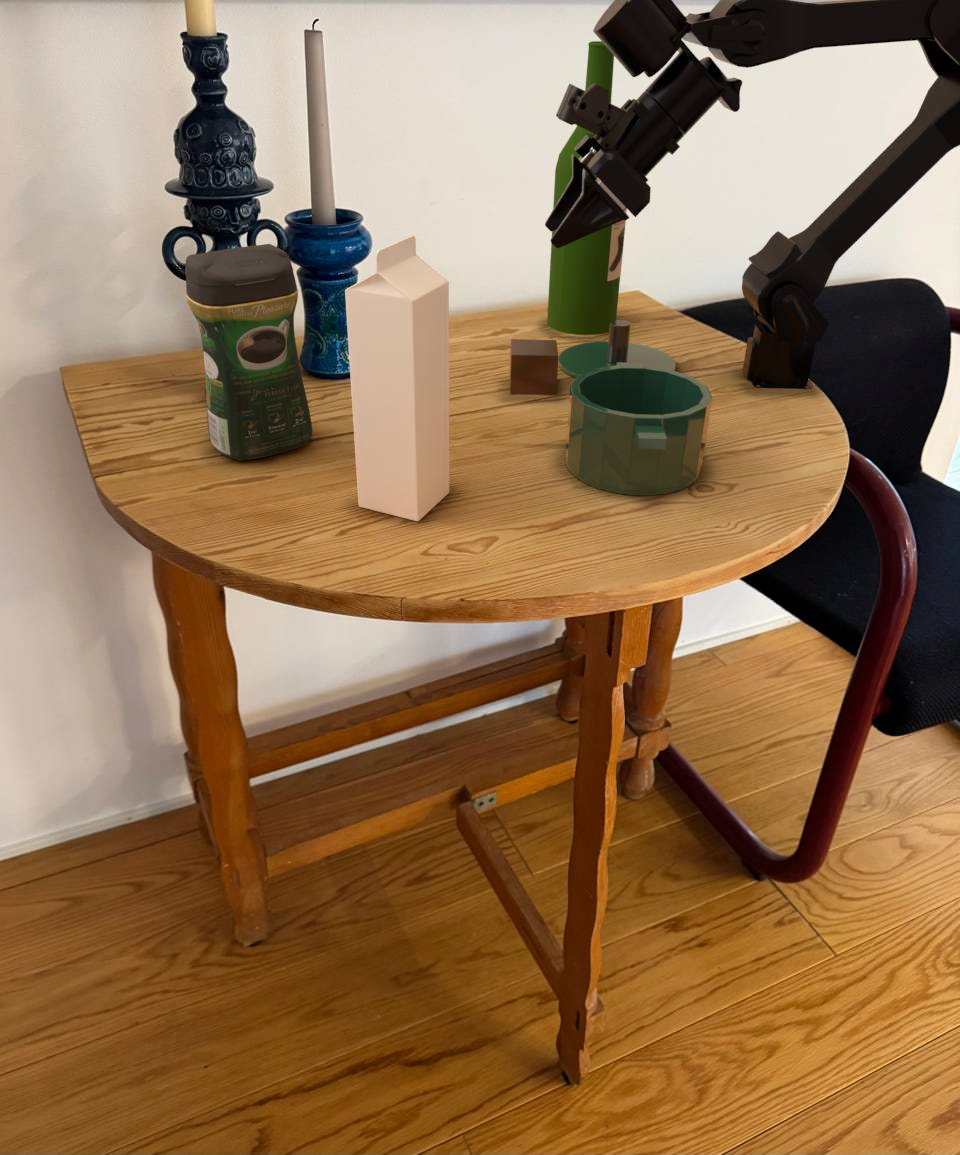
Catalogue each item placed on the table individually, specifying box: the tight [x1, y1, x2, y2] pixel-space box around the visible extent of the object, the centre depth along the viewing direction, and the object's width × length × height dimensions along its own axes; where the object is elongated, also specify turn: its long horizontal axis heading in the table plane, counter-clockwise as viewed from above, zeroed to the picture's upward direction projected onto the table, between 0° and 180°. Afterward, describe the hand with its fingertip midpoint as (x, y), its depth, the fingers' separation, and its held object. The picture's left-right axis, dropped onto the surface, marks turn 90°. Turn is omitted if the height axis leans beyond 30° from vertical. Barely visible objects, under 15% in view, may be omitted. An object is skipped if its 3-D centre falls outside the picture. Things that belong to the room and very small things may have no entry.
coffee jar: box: [184, 243, 314, 461], centre depth 88 cm, size 10×8×19 cm
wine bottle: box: [546, 40, 628, 336], centre depth 115 cm, size 9×9×32 cm
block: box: [509, 338, 559, 396], centre depth 104 cm, size 5×5×5 cm
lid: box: [558, 319, 677, 379], centre depth 110 cm, size 14×14×6 cm
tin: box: [565, 362, 713, 497], centre depth 88 cm, size 13×18×8 cm
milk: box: [344, 235, 450, 522], centre depth 78 cm, size 6×6×22 cm
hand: (550, 236), depth 98 cm, fingers open, 9 cm apart
